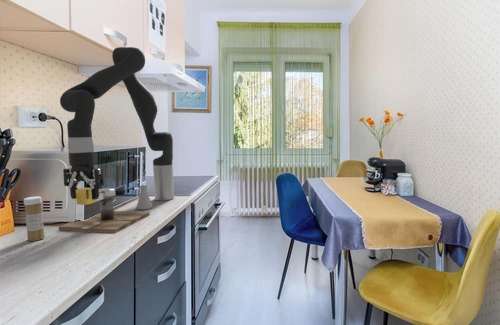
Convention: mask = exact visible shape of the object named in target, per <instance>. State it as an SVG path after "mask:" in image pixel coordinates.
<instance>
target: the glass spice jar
mask: <svg viewBox="0 0 500 325" xmlns="http://www.w3.org/2000/svg"><path fill="white" fill-rule="evenodd" d="M113 198H114V197H113ZM113 198H107V199H102V200H99V211H101V220H111V219H114V211H115V210H114V199H113Z"/></svg>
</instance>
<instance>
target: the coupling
mask: <svg viewBox="0 0 500 325" xmlns="http://www.w3.org/2000/svg"><path fill="white" fill-rule="evenodd" d="M91 189H92V188H91V187H81V188H78V189H77V190H76V200H75V201H76V205H79V206H82V205H85V206H87V205H91V204H93V203H96V202H100V200H102V199H107V198H115V197H116V188H115V187H106V188H104V187H103V188H99V197H98V199H95V200H92V195H91Z"/></svg>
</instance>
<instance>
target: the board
mask: <svg viewBox="0 0 500 325" xmlns="http://www.w3.org/2000/svg"><path fill="white" fill-rule="evenodd" d="M149 216H150V211H132V210H131V211H130V210H129V211H126V210H124V211H123V210H114V219H111V220H101V213H100V214H98V215H96V216H94V217H92V218H90V219H88V220H86V221H77V222H72V221H69V222H68V223H65V224H62V225H59V226H58V230H59V231H70V232H71V231H73V232H94V233H96V232H97V233H115V234H116V233H118V232H120V231H122V230H124V229H126V228H128V227H129V226H132V225H134V224H135V223H137V222H139V221H141V220H143V219H144V218H146V217H149Z"/></svg>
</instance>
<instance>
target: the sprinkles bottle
mask: <svg viewBox="0 0 500 325" xmlns="http://www.w3.org/2000/svg"><path fill="white" fill-rule="evenodd" d="M42 202H43V199H42V197H41V196H28V197H24V198H23V205H24V210H25V212H24V213H25V223H26V232H27V241H30V242H35V241H36V240H37V241H40V240H43V239H45V230H44V228H45V226H44V216H43V215H44V214H43V208H42Z"/></svg>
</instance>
